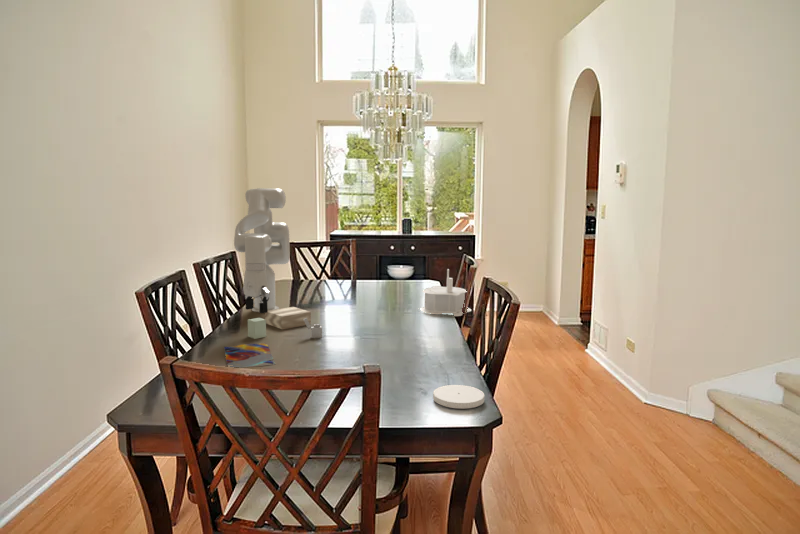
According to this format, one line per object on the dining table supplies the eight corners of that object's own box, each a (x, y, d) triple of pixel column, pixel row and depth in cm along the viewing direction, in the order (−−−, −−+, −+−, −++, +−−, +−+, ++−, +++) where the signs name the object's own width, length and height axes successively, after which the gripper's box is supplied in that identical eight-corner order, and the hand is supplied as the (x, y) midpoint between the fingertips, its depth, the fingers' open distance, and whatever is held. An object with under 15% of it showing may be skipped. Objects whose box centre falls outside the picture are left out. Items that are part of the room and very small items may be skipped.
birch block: (265, 324, 239) (265, 311, 239) (293, 319, 249) (293, 306, 248) (282, 330, 229) (282, 316, 228) (310, 325, 239) (310, 311, 238)
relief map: (275, 366, 183) (275, 360, 183) (227, 371, 178) (227, 365, 178) (267, 346, 207) (266, 341, 207) (224, 349, 202) (224, 344, 202)
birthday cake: (405, 307, 278) (405, 264, 275) (455, 303, 289) (456, 262, 286) (431, 320, 251) (432, 273, 248) (485, 315, 262) (487, 270, 259)
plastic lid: (439, 390, 162) (439, 382, 161) (487, 396, 158) (487, 387, 157) (427, 408, 148) (427, 399, 148) (480, 415, 145) (480, 405, 144)
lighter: (321, 336, 219) (321, 317, 218) (322, 337, 217) (322, 318, 216) (303, 337, 217) (303, 317, 216) (303, 338, 216) (303, 318, 215)
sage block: (248, 337, 218) (247, 319, 217) (259, 334, 221) (258, 317, 220) (255, 339, 214) (254, 321, 213) (266, 337, 218) (265, 319, 217)
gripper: (235, 266, 217) (236, 308, 219) (259, 270, 205) (260, 315, 208) (251, 264, 223) (252, 306, 225) (276, 268, 211) (277, 312, 213)
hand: (256, 310), depth 216 cm, fingers open, 9 cm apart
